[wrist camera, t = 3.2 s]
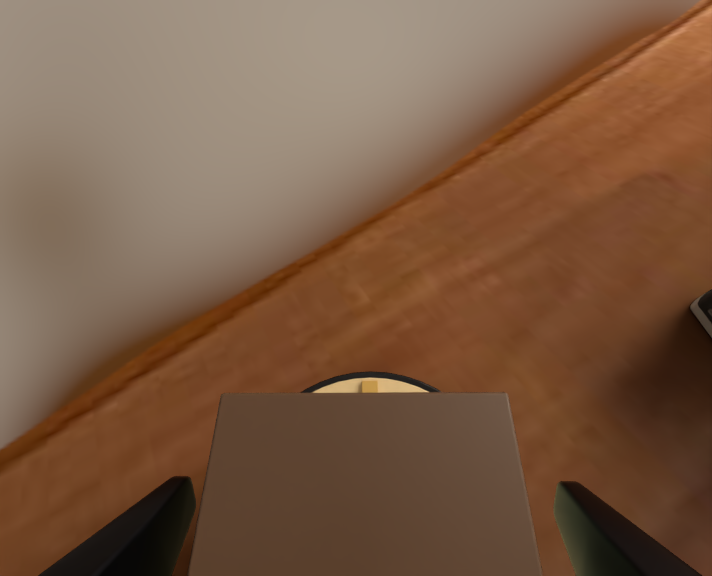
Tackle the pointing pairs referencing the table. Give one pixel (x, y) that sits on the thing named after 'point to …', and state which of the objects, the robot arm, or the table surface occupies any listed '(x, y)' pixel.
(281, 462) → the box
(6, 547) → the table surface
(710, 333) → the camera
